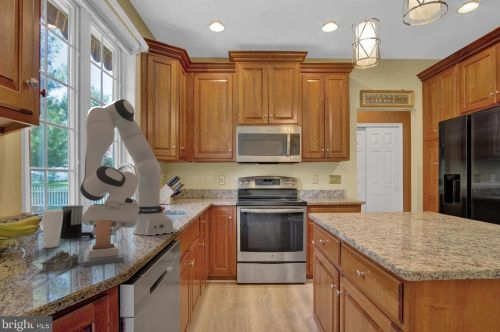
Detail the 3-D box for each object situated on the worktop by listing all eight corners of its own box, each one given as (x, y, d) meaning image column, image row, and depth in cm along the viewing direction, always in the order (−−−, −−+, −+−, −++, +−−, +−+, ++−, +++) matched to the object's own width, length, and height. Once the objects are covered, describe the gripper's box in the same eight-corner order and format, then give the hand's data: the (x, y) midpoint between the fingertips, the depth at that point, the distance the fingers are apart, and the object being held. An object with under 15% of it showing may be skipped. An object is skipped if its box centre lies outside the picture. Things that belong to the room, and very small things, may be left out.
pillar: (106, 245, 103) (107, 219, 103) (112, 247, 100) (114, 220, 100) (92, 248, 98) (93, 220, 99) (98, 250, 96) (100, 222, 96)
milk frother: (62, 235, 133) (63, 205, 134) (98, 233, 139) (99, 204, 140) (54, 241, 120) (56, 208, 121) (95, 239, 126) (96, 207, 127)
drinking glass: (50, 249, 108) (52, 212, 108) (36, 248, 109) (38, 211, 110) (65, 245, 114) (67, 210, 115) (52, 244, 116) (54, 209, 116)
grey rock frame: (62, 261, 95) (63, 249, 95) (82, 262, 94) (83, 250, 95) (36, 271, 84) (37, 258, 85) (59, 272, 84) (59, 259, 84)
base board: (119, 250, 109) (120, 240, 109) (122, 261, 95) (123, 250, 95) (85, 253, 103) (85, 243, 103) (83, 266, 89) (83, 254, 89)
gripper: (88, 198, 107) (70, 228, 96) (139, 200, 107) (127, 229, 97) (94, 208, 111) (77, 237, 101) (143, 210, 111) (132, 239, 101)
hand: (102, 233), depth 99 cm, fingers closed on pillar, 5 cm apart
